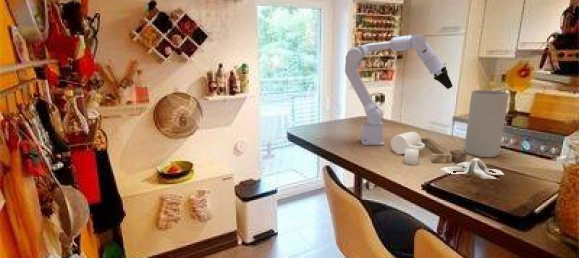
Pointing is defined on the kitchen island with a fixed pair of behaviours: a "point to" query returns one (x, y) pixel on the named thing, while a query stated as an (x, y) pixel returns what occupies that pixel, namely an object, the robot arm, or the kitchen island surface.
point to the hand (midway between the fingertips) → (449, 86)
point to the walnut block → (458, 156)
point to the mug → (406, 142)
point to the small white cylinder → (411, 156)
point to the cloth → (473, 169)
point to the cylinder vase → (486, 122)
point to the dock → (437, 152)
